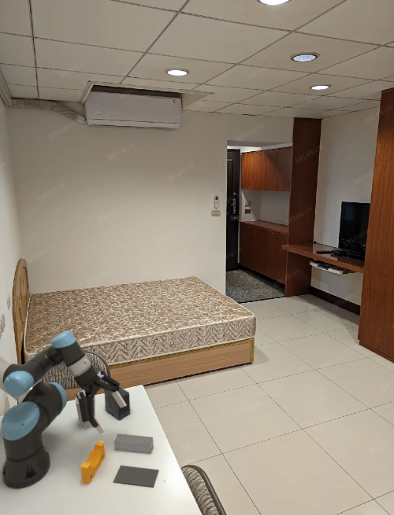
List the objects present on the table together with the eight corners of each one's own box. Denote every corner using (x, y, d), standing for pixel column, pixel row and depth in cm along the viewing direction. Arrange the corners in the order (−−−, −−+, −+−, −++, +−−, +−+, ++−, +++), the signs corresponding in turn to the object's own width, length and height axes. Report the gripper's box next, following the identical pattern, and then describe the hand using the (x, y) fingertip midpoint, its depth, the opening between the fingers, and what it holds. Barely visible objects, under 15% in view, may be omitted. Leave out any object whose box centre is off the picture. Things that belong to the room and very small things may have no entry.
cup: (101, 421, 148) (99, 396, 146) (86, 432, 142) (84, 406, 139) (88, 415, 153) (86, 390, 150) (73, 425, 146) (70, 400, 143)
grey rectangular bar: (114, 450, 133) (114, 440, 132) (118, 442, 136) (118, 433, 136) (150, 454, 131) (150, 444, 130) (153, 446, 134) (153, 437, 134)
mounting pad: (113, 482, 118) (113, 481, 118) (120, 466, 125) (120, 465, 125) (153, 487, 116) (153, 486, 116) (158, 470, 123) (158, 469, 123)
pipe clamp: (94, 455, 130) (93, 440, 129) (105, 457, 130) (103, 442, 128) (77, 482, 119) (75, 466, 117) (89, 484, 118) (87, 468, 117)
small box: (131, 413, 153) (130, 392, 151) (119, 421, 149) (117, 399, 146) (116, 403, 160) (115, 383, 158) (104, 410, 155) (103, 389, 153)
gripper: (65, 389, 113) (100, 443, 115) (109, 349, 135) (137, 394, 137) (51, 395, 116) (85, 447, 118) (96, 355, 139) (124, 399, 141)
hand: (113, 419), depth 128 cm, fingers open, 13 cm apart
